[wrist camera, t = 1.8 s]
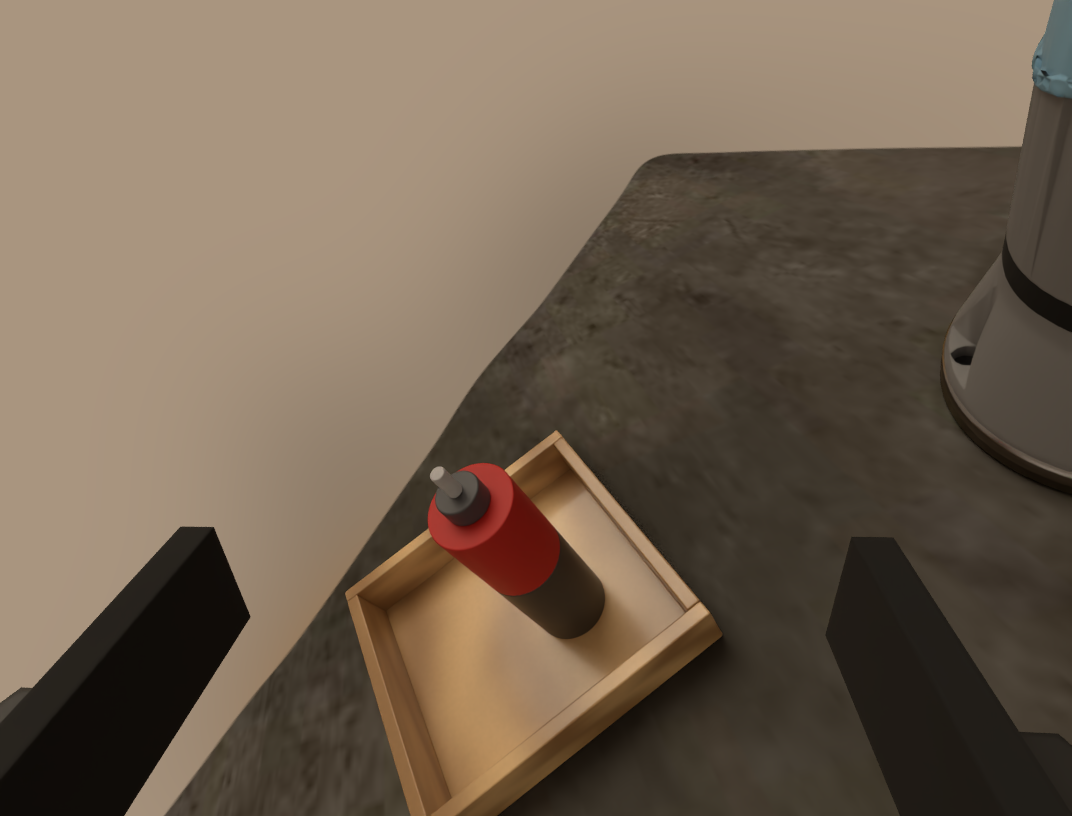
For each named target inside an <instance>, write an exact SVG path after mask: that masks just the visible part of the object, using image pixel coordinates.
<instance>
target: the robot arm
mask: <svg viewBox="0 0 1072 816" xmlns="http://www.w3.org/2000/svg"><path fill="white" fill-rule="evenodd" d="M1032 69H1033V77H1032V78H1033V81H1034V86H1033V92H1032V97H1031V102H1030V107H1029V113H1028V118H1027V123H1026V128H1025V134H1024V139H1023V144H1022V150H1021V155H1020V160H1019V165H1018V171H1017V176H1016V181H1015V186H1014V192H1013V197H1012V202H1011V207H1010V213H1009V218H1008V223H1007V229H1006V236H1005V241H1004V245H1003V249H1002V253H1001V254H1000V255H999V257H998V258H997V259H996V261H995V262H994V263H993V265H992V266H991V268H990V269H989V270H988V272H987V273H986V274H985V276H984V277H983V278H982V280H981V281H980V282H979V284H978V285H977V286H976V288H975V289H974V291H973V292H972V293H971V295H970V296H969V297H968V299H967V300H966V301H965V303H964V304H963V305H962V307H961V308H960V310H959V311H958V312H957V314H956V315H955V317H954V318H953V320H952V322H951V324H950V326H949V328H948V330H947V333H946V336H945V340H944V344H943V351H942V359H941V369H940V380H941V387H942V392H943V396H944V398H945V401H946V404H947V406H948V408H949V410H950V412H951V413H952V415H953V417H954V418H955V420H956V421H957V423H958V424H959V425H960V427H961V428H962V429H963V430H964V431H965V433H966V434H967V435H968V436H969V437H970V438H971V439H972V440H973V441H974V442H975V443H976V444H977V445H979V446H980V447H981V448H982V449H983V450H985V451H986V452H987V453H988V454H990V455H991V456H992V457H994V458H995V459H997V460H998V461H1000V462H1001V463H1003V464H1004V465H1006V466H1008V467H1009V468H1011V469H1013V470H1015V471H1017V472H1018V473H1020V474H1022V475H1024V476H1026V477H1028V478H1031V479H1033V480H1035V481H1037V482H1039V483H1042V484H1044V485H1047V486H1050V487H1052V488H1055V489H1057V490H1060V491H1064V492H1067V493H1070V494H1072V0H1054V2H1053V6H1052V10H1051V13H1050V17H1049V21H1048V24H1047V28H1046V32H1045V34H1044V36H1043V37H1042V39H1041V41H1040V43H1039V44H1038V47H1037V48H1036V51H1035V53H1034V56H1033V60H1032ZM249 618H250V614H249V612H248V609H247V607H246V605H245V602H244V600H243V597H242V595H241V592H240V590H239V588H238V585H237V583H236V580H235V578H234V575H233V573H232V571H231V568H230V566H229V563H228V561H227V558H226V556H225V554H224V551H223V549H222V546H221V544H220V541H219V539H218V537H217V534H216V532H215V529H214V527H180V528H179V529H178V530H177V531H176V532H175V533H174V534H173V535H172V537H171V538H170V539H169V540H168V541H167V542H166V543H165V544H164V545H163V546H162V547H161V549H160V550H159V551H158V552H157V553H156V554H155V555H154V556H153V557H152V558H151V559H150V561H149V562H148V563H147V564H146V565H145V566H144V567H143V568H142V569H141V570H140V572H138V574H137V575H136V576H135V577H134V578H133V579H132V580H131V581H130V582H129V583H128V584H127V586H126V587H125V588H124V589H123V590H122V591H121V592H120V593H119V594H118V595H117V597H116V598H115V599H114V600H113V601H112V602H111V603H110V604H109V605H108V606H107V607H106V608H105V610H104V611H103V612H102V613H101V614H100V615H99V616H98V617H97V618H96V619H95V620H94V621H93V623H92V624H91V625H90V626H89V627H88V628H87V629H86V630H85V631H84V632H83V634H82V635H81V636H80V637H79V638H78V639H77V640H76V641H75V642H74V643H73V644H72V646H71V647H70V648H69V649H68V650H67V651H66V652H65V653H64V654H63V655H62V656H61V657H60V659H59V660H58V661H57V662H56V663H55V664H54V665H53V666H52V667H51V669H49V671H48V672H47V673H46V674H45V675H44V676H43V677H42V678H41V679H40V680H39V682H38V683H37V684H36V685H35V686H34V687H33V688H20V689H19V690H17V691H16V692H15V693H13V694H12V695H10V696H9V697H8V698H6V699H5V700H4V701H2V702H1V703H0V816H124V815H125V814H126V812H127V810H128V809H129V807H130V806H131V804H132V803H133V801H134V799H135V798H136V796H137V795H138V793H139V791H140V790H141V788H142V787H143V785H144V784H145V782H146V781H147V779H148V777H149V776H150V774H151V773H152V771H153V770H154V768H155V766H156V765H157V763H158V762H159V760H160V759H161V757H162V755H163V754H164V752H165V751H166V749H167V747H168V746H169V744H170V743H171V741H172V739H173V738H174V736H175V735H176V733H177V732H178V730H179V729H180V727H181V725H182V724H183V722H184V721H185V719H186V717H187V716H188V714H189V713H190V711H191V710H192V708H193V707H194V705H195V703H196V702H197V700H198V699H199V697H200V696H201V694H202V692H203V690H204V689H205V688H206V686H207V685H208V683H209V681H210V680H211V678H212V677H213V675H214V674H215V672H216V670H217V668H218V667H219V666H220V664H221V662H222V661H223V659H224V658H225V656H226V655H227V653H228V652H229V650H230V648H231V647H232V645H233V643H234V642H235V640H236V639H237V637H238V636H239V634H240V633H241V631H242V629H243V628H244V626H245V625H246V623H247V622H248V620H249ZM826 637H827V640H828V642H829V644H830V647H831V649H832V652H833V654H834V657H835V659H836V661H837V664H838V666H839V669H840V671H841V674H842V676H843V678H844V681H845V683H846V686H847V688H848V690H849V693H850V695H851V698H852V700H853V703H854V705H855V707H856V710H857V712H858V715H859V717H860V720H861V722H862V724H863V727H864V729H865V732H866V734H867V736H868V739H869V741H870V744H871V746H872V749H873V751H874V753H875V756H876V758H877V761H878V763H879V766H880V768H881V770H882V773H883V775H884V778H885V780H886V782H887V785H888V787H889V790H890V792H891V795H892V797H893V799H894V802H895V804H896V807H897V809H898V812H899V814H900V816H1072V746H1071V745H1070V744H1069V743H1068V742H1067V741H1066V740H1065V739H1064V738H1062V737H1061V736H1060V735H1059V734H1052V733H1030V732H1019V731H1018V729H1017V728H1016V726H1015V725H1014V723H1013V722H1012V720H1011V719H1010V717H1009V716H1008V714H1007V712H1006V711H1005V709H1004V708H1003V706H1002V705H1001V703H1000V702H999V700H998V699H997V697H996V695H995V694H994V692H993V691H992V689H991V688H990V686H989V685H988V683H987V682H986V680H985V678H984V677H983V675H982V674H981V672H980V671H979V669H978V668H977V666H976V664H975V663H974V661H973V660H972V658H971V657H970V655H969V654H968V652H967V651H966V649H965V647H964V646H963V644H962V643H961V641H960V640H959V638H958V637H957V635H956V634H955V632H954V630H953V629H952V627H951V626H950V624H949V623H948V621H947V620H946V618H945V617H944V615H943V613H942V612H941V610H940V609H939V607H938V606H937V604H936V603H935V601H934V600H933V598H932V596H931V595H930V593H929V592H928V590H927V589H926V587H925V586H924V584H923V583H922V581H921V579H920V578H919V576H918V575H917V573H916V572H915V570H914V569H913V567H912V566H911V564H910V562H909V561H908V559H907V558H906V556H905V555H904V553H903V552H902V550H901V549H900V547H899V545H898V544H897V542H896V541H895V539H894V538H887V537H851V541H850V545H849V548H848V552H847V556H846V560H845V564H844V567H843V571H842V575H841V579H840V582H839V586H838V590H837V594H836V597H835V601H834V605H833V609H832V613H831V616H830V620H829V624H828V628H827V631H826Z"/></svg>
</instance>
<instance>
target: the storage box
mask: <svg viewBox="0 0 1072 816" xmlns="http://www.w3.org/2000/svg"><path fill="white" fill-rule="evenodd" d="M505 471H506V472H507V473H508V475H509V476H510V477H511V478H512V479H513V480H514V481H515V483H516V484H517V485H518V486H519V487H520V488H521V489H522V491H523V492H524V493H525V494H526V495H527V496H528V497H529V499H530V500H531V501H532V502H533V503H534V504H535V506H536V507H537V508H538V509H539V510H540V511H541V512H542V514H543V515H544V516H545V517H546V518H547V519H548V520H549V522H550V523H551V524H552V525H553V526H554V527H555V528H556V530H557V531H558V532H559V533H560V534H561V535H562V536H563V538H564V539H565V540H566V541H567V542H568V543H569V544H570V546H571V547H572V548H573V549H574V550H575V551H576V553H577V554H578V555H579V556H580V557H581V558H582V559H583V561H584V562H585V563H586V564H587V565H588V566H589V567H590V569H591V570H592V571H593V572H594V573H595V574H596V575H597V577H598V578H599V579H600V581H601V583H602V585H603V588H604V593H605V604H604V609H603V612H602V615H601V617H600V619H599V620H598V622H597V623H596V624H595V626H594V627H593V628H592V629H591V630H589V631H588V632H587V633H585V634H583V635H582V636H579V637H576V638H572V639H561V638H557V637H555V636H552V635H551V634H549V633H548V632H547V631H545V630H544V629H543V628H542V627H540V626H539V625H538V624H537V623H535V622H534V621H533V620H532V619H530V618H529V617H528V616H527V615H525V614H524V613H523V612H522V611H520V610H519V609H518V608H517V607H515V606H514V605H513V604H512V603H510V602H509V601H508V600H507V599H505V598H504V597H503V596H502V595H500V594H499V593H498V592H497V591H496V590H494V589H493V588H492V587H490V586H489V585H488V584H487V583H485V582H484V581H483V580H482V579H481V578H479V577H478V576H477V575H476V574H474V573H473V572H472V571H471V570H469V569H468V568H467V567H466V566H464V565H463V564H462V563H461V562H459V561H458V560H457V559H456V558H454V557H453V556H452V555H451V554H449V553H448V552H447V551H446V550H444V549H443V548H442V547H441V546H439V545H438V544H437V543H436V542H435V541H434V540H433V538H432V536H431V534H430V531H429V528H428V529H427V530H426V531H425V532H423V533H422V534H421V535H419V536H418V537H417V538H415V539H414V540H413V541H412V542H410V543H409V544H408V545H406V546H405V547H404V548H402V549H401V550H400V551H399V552H397V553H396V554H395V555H393V556H392V557H391V558H389V559H388V560H387V561H385V562H384V563H383V564H382V565H380V566H379V567H378V568H376V569H375V570H374V571H372V572H371V573H370V574H369V575H367V576H366V577H365V578H363V579H362V580H361V581H359V582H358V583H357V584H355V585H354V586H353V587H352V588H350V589H349V590H348V591H346V592H345V594H346V598H347V601H348V605H349V609H350V612H351V615H352V619H353V622H354V625H355V629H356V632H357V636H358V639H359V642H360V646H361V649H362V653H363V656H364V659H365V663H366V666H367V669H368V673H369V676H370V680H371V683H372V686H373V690H374V693H375V697H376V700H377V703H378V707H379V710H380V713H381V717H382V720H383V724H384V727H385V730H386V734H387V737H388V741H389V744H390V747H391V751H392V754H393V758H394V761H395V764H396V768H397V771H398V774H399V778H400V781H401V785H402V788H403V791H404V795H405V798H406V802H407V805H408V808H409V812H410V815H411V816H497V815H498V814H500V813H501V812H502V811H503V810H505V809H506V808H507V807H508V806H510V805H511V804H512V803H513V802H515V801H516V800H517V799H519V798H520V797H521V796H522V795H524V794H525V793H526V792H527V791H529V790H530V789H531V788H532V787H534V786H535V785H536V784H537V783H539V782H540V781H541V780H542V779H544V778H545V777H546V776H547V775H549V774H550V773H551V772H552V771H554V770H555V769H556V768H557V767H559V766H560V765H561V764H562V763H564V762H565V761H566V760H567V759H569V758H570V757H571V756H572V755H574V754H575V753H576V752H577V751H579V750H580V749H581V748H582V747H584V746H585V745H586V744H587V743H589V742H590V741H591V740H592V739H594V738H595V737H596V736H597V735H599V734H600V733H601V732H602V731H604V730H605V729H606V728H607V727H609V726H610V725H611V724H612V723H614V722H615V721H616V720H617V719H619V718H620V717H621V716H622V715H624V714H625V713H626V712H627V711H629V710H630V709H631V708H632V707H634V706H635V705H636V704H637V703H639V702H640V701H641V700H642V699H644V698H645V697H646V696H647V695H649V694H650V693H651V692H652V691H654V690H655V689H656V688H658V687H659V686H660V685H661V684H663V683H664V682H665V681H666V680H668V679H669V678H670V677H671V676H673V675H674V674H675V673H676V672H678V671H679V670H680V669H681V668H683V667H684V666H685V665H686V664H688V663H689V662H690V661H691V660H693V659H694V658H695V657H696V656H698V655H699V654H700V653H701V652H703V651H704V650H705V649H706V648H708V647H709V646H710V645H711V644H713V643H714V642H715V641H716V640H718V639H719V638H720V637H721V636H722V635H723V634H722V632H721V630H720V629H719V627H718V625H717V623H716V622H715V620H714V618H713V617H712V615H711V613H710V612H709V610H708V609H707V608H706V607H705V606H704V605H703V603H702V602H700V600H699V599H698V597H697V596H696V595H695V594H694V593H693V591H692V590H691V589H690V588H689V587H688V585H687V584H686V583H685V582H684V581H683V580H682V578H681V577H680V576H679V575H678V574H677V572H676V571H675V570H674V569H673V568H672V566H671V565H670V564H669V563H668V562H667V561H666V559H665V558H664V557H663V556H662V555H661V553H660V552H659V551H658V550H657V549H656V547H655V546H654V545H653V544H652V543H651V541H650V540H649V539H648V538H647V537H646V536H645V534H644V533H643V532H642V531H641V530H640V528H639V527H638V526H637V525H636V524H635V522H634V521H633V520H632V519H631V518H630V516H629V515H628V514H627V513H626V512H625V511H624V509H623V508H622V507H621V506H620V505H619V503H618V502H617V501H616V500H615V499H614V497H613V496H612V495H611V494H610V493H609V491H608V490H607V489H606V488H605V487H604V486H603V484H602V483H601V482H600V481H599V480H598V478H597V477H596V476H595V475H594V474H593V472H592V471H591V470H590V469H589V468H588V466H587V465H586V464H585V463H584V462H583V461H582V459H581V458H580V457H579V456H578V455H577V453H576V452H575V451H574V450H573V449H572V447H571V446H570V445H569V444H568V443H567V441H566V440H565V439H564V438H563V437H562V436H561V434H560V433H559V432H558V431H555V432H554V433H552V434H551V435H550V436H548V437H547V438H546V439H545V440H543V441H542V442H541V443H539V444H538V445H537V446H535V447H534V448H533V449H531V450H530V451H529V452H528V453H526V454H525V455H524V456H522V457H521V458H520V459H518V460H517V461H516V462H515V463H513V464H512V465H511V466H509V467H508V468H507V469H505Z"/></svg>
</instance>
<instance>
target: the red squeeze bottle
mask: <svg viewBox="0 0 1072 816" xmlns="http://www.w3.org/2000/svg"><path fill="white" fill-rule="evenodd" d="M430 478H431V480H432V481H433V482H434V483H435V484H436V485H437V486H438V489H437V492H436V494H435V496H434V497H433V500H432V502H431V505H430V508H429V512H428V527H429V531H430V534H431V536H432V538H433V540H434V541H435V542H436V543H437V544H438V545H439V546H441V547H442V548H443V549H444V550H446V551H447V552H448V553H449V554H451V555H452V556H453V557H454V558H456V559H457V560H458V561H459V562H461V563H462V564H463V565H464V566H466V567H467V568H468V569H469V570H471V571H472V572H473V573H474V574H476V575H477V576H478V577H479V578H481V579H482V580H483V581H484V582H485V583H487V584H488V585H489V586H490V587H492V588H493V589H494V590H496V591H497V592H498V593H499V594H500V595H502V596H503V597H504V598H505V599H507V600H508V601H509V602H510V603H512V604H513V605H514V606H515V607H517V608H518V609H519V610H520V611H522V612H523V613H524V614H525V615H527V616H528V617H529V618H530V619H532V620H533V621H534V622H535V623H537V624H538V625H539V626H540V627H542V628H543V629H544V630H545V631H547V632H548V633H549V634H551V635H552V636H555V637H557V638H561V639H572V638H576V637H579V636H582V635H583V634H585V633H587V632H588V631H589V630H591V629H592V628H593V627H594V626H595V624H596V623H597V622H598V620H599V619H600V617H601V615H602V612H603V609H604V604H605V593H604V588H603V585H602V583H601V581H600V579H599V578H598V577H597V575H596V574H595V573H594V572H593V571H592V570H591V569H590V567H589V566H588V565H587V564H586V563H585V562H584V561H583V559H582V558H581V557H580V556H579V555H578V554H577V553H576V551H575V550H574V549H573V548H572V547H571V546H570V544H569V543H568V542H567V541H566V540H565V539H564V538H563V536H562V535H561V534H560V533H559V532H558V531H557V530H556V528H555V527H554V526H553V525H552V524H551V523H550V522H549V520H548V519H547V518H546V517H545V516H544V515H543V514H542V512H541V511H540V510H539V509H538V508H537V507H536V506H535V504H534V503H533V502H532V501H531V500H530V499H529V497H528V496H527V495H526V494H525V493H524V492H523V491H522V489H521V488H520V487H519V486H518V485H517V484H516V483H515V481H514V480H513V479H512V478H511V477H510V476H509V475H508V473H507V472H506V471H505V470H503V469H502V468H500V467H499V466H496V465H494V464H489V463H478V464H473V465H470V466H467V467H464V468H462V469H460V470H459V471H457V472H455V473H453V474H451V475H450V474H449V473H448V472H447V471H446V470H445V469H444V468H443V467H436V468H434V469H433V470H432V472H431V474H430Z"/></svg>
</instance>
